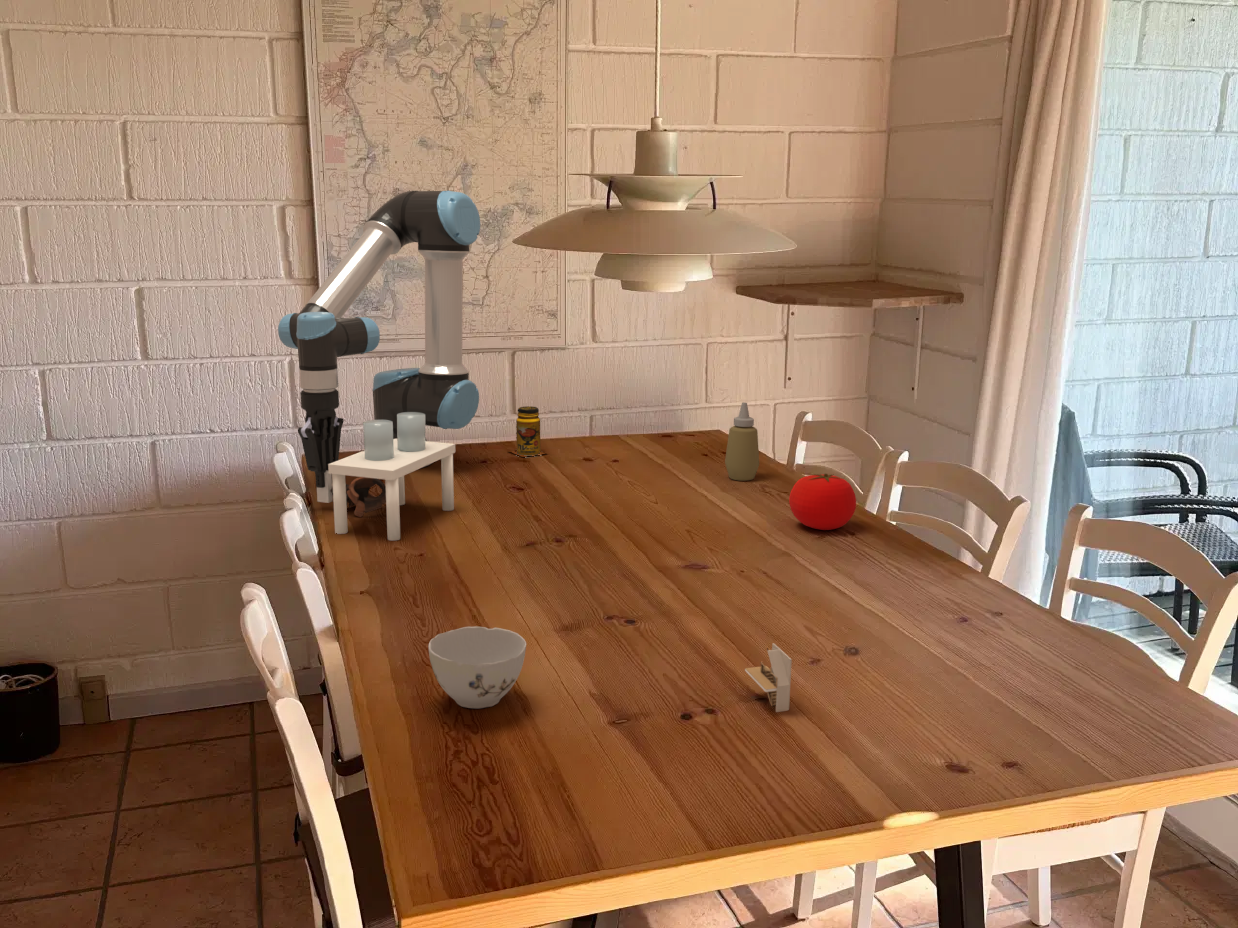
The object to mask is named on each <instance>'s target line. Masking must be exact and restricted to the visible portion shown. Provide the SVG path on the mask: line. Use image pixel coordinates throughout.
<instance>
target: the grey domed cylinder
mask: <svg viewBox="0 0 1238 928" xmlns="http://www.w3.org/2000/svg"><path fill="white" fill-rule="evenodd" d="M425 437H426V425H425V414H424V413H419V412H403V413H399V414H397V449H398V450H400V451H406V452H417V451H423V450H425Z"/></svg>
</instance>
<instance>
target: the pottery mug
mask: <svg viewBox="0 0 1238 928" xmlns="http://www.w3.org/2000/svg"><path fill="white" fill-rule="evenodd" d="M376 485H377V486H378V487H379V488H380V489H381V493H380V494H379V495H377V496H376V495H373V494H371V493H369V491H370V489H371V488H372V487H375V486H376ZM331 493H332V496H333V485H332V488H331ZM385 504H386V484H385V483H384V482H383V481H382V479H377V478H367V477H358V476H357V478H354V479H353V480H352V481H351V483H350V484H347V483H346V505H347V506H348V508H353V507H354V506H355V510H354V511H353V514H354V515H355V516H357V517H358V518H362V517H363V515H364V514H366V513H369V512H372V511H376V510H378V509H380V508H382V507H383V505H385Z"/></svg>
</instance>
